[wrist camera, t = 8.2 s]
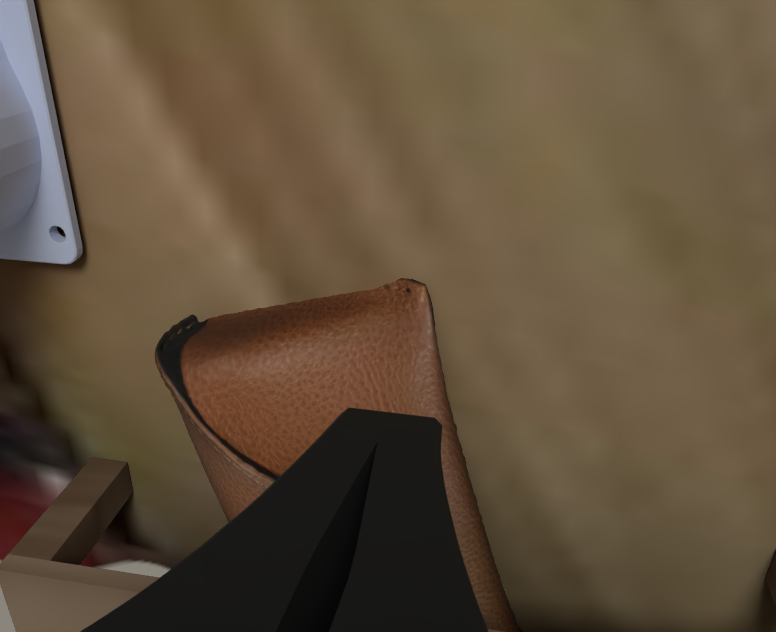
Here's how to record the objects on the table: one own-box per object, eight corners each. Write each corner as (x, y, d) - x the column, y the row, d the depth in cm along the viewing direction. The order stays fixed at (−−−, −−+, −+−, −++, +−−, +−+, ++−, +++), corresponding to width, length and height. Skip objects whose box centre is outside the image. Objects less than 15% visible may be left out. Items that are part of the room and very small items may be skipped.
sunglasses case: (556, 682, 26) (458, 849, 22) (417, 616, 31) (317, 744, 27) (425, 259, 20) (248, 389, 15) (273, 258, 24) (109, 357, 20)
